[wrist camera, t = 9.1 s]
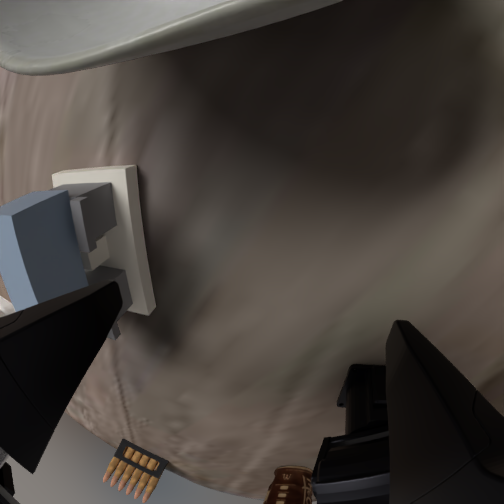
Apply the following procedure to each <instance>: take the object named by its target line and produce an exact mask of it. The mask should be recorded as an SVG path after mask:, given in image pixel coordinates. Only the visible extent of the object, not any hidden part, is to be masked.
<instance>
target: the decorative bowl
mask: <svg viewBox="0 0 504 504" xmlns="http://www.w3.org/2000/svg"><path fill="white" fill-rule="evenodd" d="M341 1H343V0H0V67H2V68H4V69H6V70H8V71H11V72H14V73H17V74H23V75H30V76H38V75H54V74H64V73H70V72H75V71H81V70H86V69H92V68H97V67H102V66H106V65H110V64H115V63H120V62H125V61H129V60H134V59H137V58H141V57H145V56H150V55H154V54H158V53H163V52H167V51H171V50H175V49H179V48H183V47H187V46H191V45H195V44H200V43H204V42H208V41H211V40H215V39H219V38H223V37H227V36H231V35H234V34H238V33H241V32H245V31H248V30H252V29H256V28H259V27H262V26H266V25H269V24H272V23H276V22H279V21H283V20H286V19H289V18H292V17H295V16H298V15H302V14H305V13H308V12H312V11H314V10H317V9H320V8H323V7H326V6H329V5H332V4H335V3H338V2H341Z"/></svg>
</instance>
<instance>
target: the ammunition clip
mask: <svg viewBox="0 0 504 504" xmlns="http://www.w3.org/2000/svg"><path fill="white" fill-rule="evenodd" d="M126 450H127V451H126ZM125 452H126V453H125ZM123 455H124V456H123ZM132 456H133V457H132ZM141 457H142V458H141ZM131 458H132V459H131ZM140 459H141V460H140ZM149 460H150V461H149ZM139 461H140V462H139ZM119 462H120V464H119ZM148 462H149V463H148ZM138 463H139V464H138ZM157 463H158V464H157ZM167 463H168V460H165V459H163V458H161V457H159V456H157V455H154V454H152V453H150V452H148V451H146V450H144V449H142V448H140V447H138V446H136V445H134V444H133V443H131V442H129V441H127V440H125V439H122V441H121V443H120V445H119V447H118V449H117V451H116V453H115V455H114V457H113V459H112V460H111V462H110V464H109V466H108V469H107V471H106V473H105V475H104V478H103V482H105V481H107V480H108V479H109V478H110V476H111V474H112V473H113V472H114V470H115V469H116V468H117V469H116V472H115V474H114V476H113V478H112V481H111V487H112V486H114V485H115V484H116V482H117V481H118V480H119V478H120V476H121V475H122V474H123V473H124V475H123V478H122V480H121V482H120V484H119V488H118V489H119V491H120V490H122V489H123V488H124V486H125V485H126V483H127V481H128V480H129V479H130V477H131V476H132V477H131V481H130V483H129V485H128V488H127V491H126V495H128V494H130V493H131V491H132V490H133V488H134V487H135V485H136V484H137V482H138V481H139V479H140V477H141V475H142V474H143V475H142V477H141V479H140V481H139V485H138V487H137V489H136V492H135V496H134V498H135V499H137V498H138V497H139V496H140V494H141V493H142V491H143V489H144V488H145V486H146V485H147V483H148V481H149V479H150V477H151V479H150V481H149V483H148V485H147V489H146V492H145V494H144V496H143V503H145V502H146V501H147V500H148V498H149V497H150V495H151V493H152V492H153V490H154V489H155V487H156V485H157V483H158V481H159V479H160V477H161V475H162V473H163V471H164V469H165V467H166V465H167ZM118 464H119V465H118ZM147 464H148V465H147ZM127 465H128V466H127ZM156 465H157V466H156ZM117 466H118V467H117ZM146 466H147V467H146ZM126 467H127V468H126ZM155 467H156V468H155ZM125 469H126V470H125ZM154 469H155V470H154ZM134 470H135V471H134ZM124 471H125V472H124ZM133 472H134V473H133ZM132 473H133V475H132Z"/></svg>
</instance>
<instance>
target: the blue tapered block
mask: <svg viewBox="0 0 504 504" xmlns="http://www.w3.org/2000/svg"><path fill="white" fill-rule="evenodd" d="M0 273H1V276H2V278H3V281H4V284H5V287H6V289H7V292H8V294H9V297H10V299H11V302H12V304H13V306H14V309H15V311H16V312H17V311H20V310H23V309H24V310H25V309H26V308H28V307H31V306H34V305H36V304H39V303H42V302H45V301H47V300H50V299H53V298H56V297H58V296H61V295H64V294H67V293H70V292H72V291H75V290H78V289H81V288H84V287H87V286H89V285H88V281H87V278H86V274H85V270H84V266H83V263H82V259H81V254H80V250H79V246H78V242H77V237H76V232H75V227H74V222H73V217H72V212H71V206H70V200H69V193H68V190H53V191H35V192H31V193H29V194H27V195H24V196H22V197H20V198H18V199H15V200H13V201H11V202H9V203H7V204H4V205H2V206H0Z"/></svg>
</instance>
